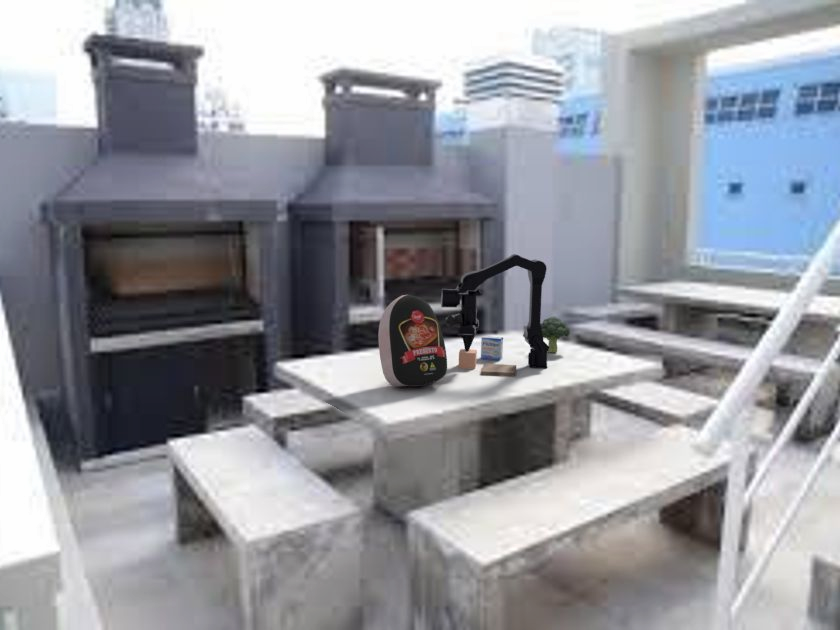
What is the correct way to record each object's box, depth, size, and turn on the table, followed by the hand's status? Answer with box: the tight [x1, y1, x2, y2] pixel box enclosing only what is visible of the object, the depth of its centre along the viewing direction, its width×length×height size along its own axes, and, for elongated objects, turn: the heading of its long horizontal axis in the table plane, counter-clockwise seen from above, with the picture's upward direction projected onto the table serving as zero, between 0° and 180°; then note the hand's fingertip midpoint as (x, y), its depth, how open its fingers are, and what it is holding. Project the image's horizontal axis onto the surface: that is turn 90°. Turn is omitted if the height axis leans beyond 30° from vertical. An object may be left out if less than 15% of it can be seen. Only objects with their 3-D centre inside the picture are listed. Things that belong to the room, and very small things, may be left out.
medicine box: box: [480, 335, 504, 361], centre depth 268 cm, size 8×4×9 cm, turn 73°
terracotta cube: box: [458, 348, 478, 370], centre depth 255 cm, size 6×6×6 cm
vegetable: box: [540, 316, 571, 353], centre depth 279 cm, size 12×13×15 cm
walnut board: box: [481, 363, 517, 377], centre depth 248 cm, size 12×12×1 cm
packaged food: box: [377, 294, 448, 387], centre depth 227 cm, size 22×20×30 cm
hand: (468, 348), depth 254 cm, fingers open, 9 cm apart
